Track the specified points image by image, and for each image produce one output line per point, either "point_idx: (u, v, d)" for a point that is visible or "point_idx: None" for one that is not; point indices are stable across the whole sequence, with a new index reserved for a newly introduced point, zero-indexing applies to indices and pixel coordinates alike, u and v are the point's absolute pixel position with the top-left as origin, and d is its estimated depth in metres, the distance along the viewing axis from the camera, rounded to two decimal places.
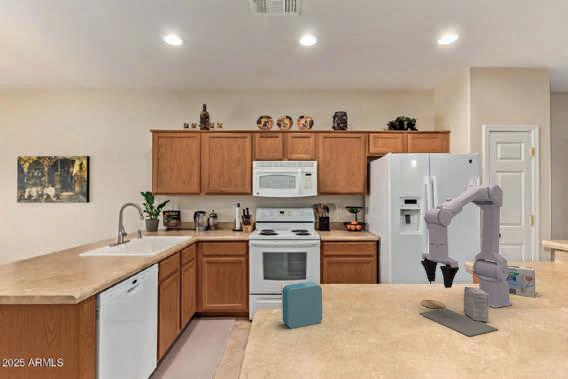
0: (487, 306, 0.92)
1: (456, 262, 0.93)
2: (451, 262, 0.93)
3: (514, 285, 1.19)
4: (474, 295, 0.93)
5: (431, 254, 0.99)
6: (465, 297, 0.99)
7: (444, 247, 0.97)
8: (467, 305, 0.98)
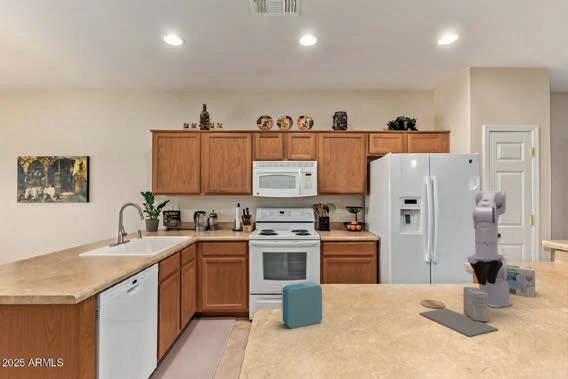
0: (487, 306, 0.92)
1: (471, 258, 0.96)
2: None
3: (514, 285, 1.19)
4: (473, 295, 0.93)
5: None
6: (465, 297, 0.99)
7: (479, 244, 0.98)
8: (466, 305, 0.98)
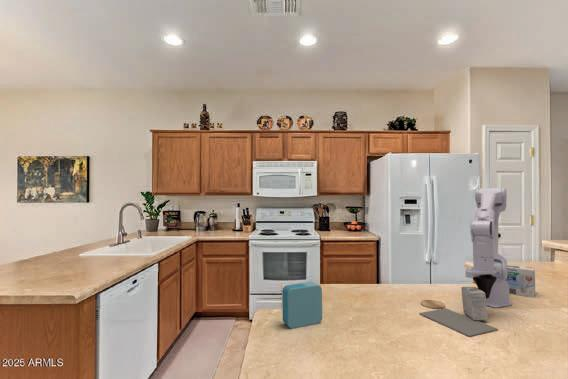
0: (485, 304, 0.93)
1: (469, 273, 0.96)
2: None
3: (514, 285, 1.19)
4: (471, 295, 0.94)
5: None
6: (463, 297, 1.00)
7: (477, 258, 0.98)
8: (465, 305, 0.98)
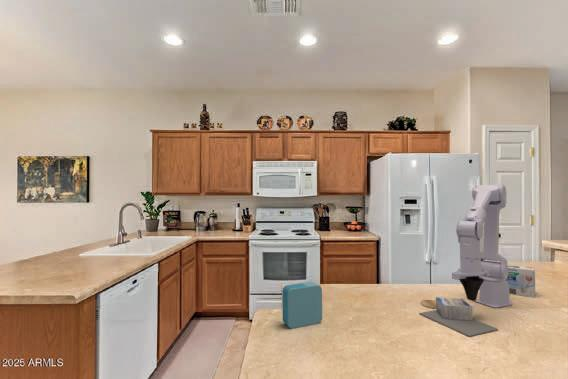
0: (455, 306, 0.94)
1: (455, 274, 0.93)
2: None
3: (514, 285, 1.19)
4: (445, 317, 0.95)
5: None
6: None
7: (464, 260, 0.95)
8: None
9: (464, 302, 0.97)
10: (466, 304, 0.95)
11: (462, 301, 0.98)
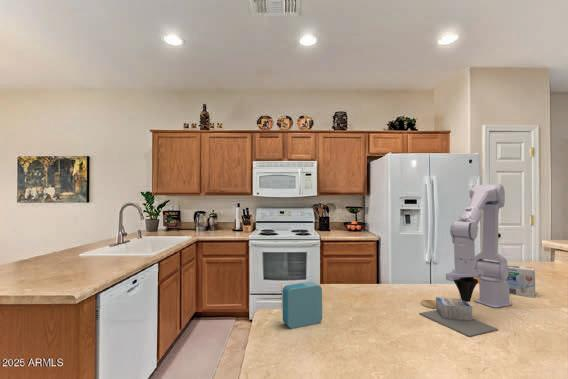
0: (455, 306, 0.94)
1: (449, 275, 0.93)
2: None
3: (514, 285, 1.19)
4: (445, 317, 0.95)
5: None
6: None
7: (458, 261, 0.95)
8: None
9: (464, 302, 0.97)
10: (466, 304, 0.95)
11: (462, 301, 0.98)
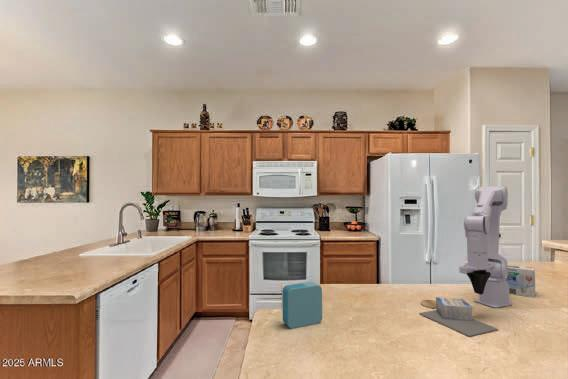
0: (455, 306, 0.94)
1: (463, 268, 0.95)
2: None
3: (514, 285, 1.19)
4: (445, 317, 0.95)
5: None
6: None
7: (471, 254, 0.97)
8: None
9: (464, 302, 0.97)
10: (466, 304, 0.95)
11: (462, 301, 0.98)
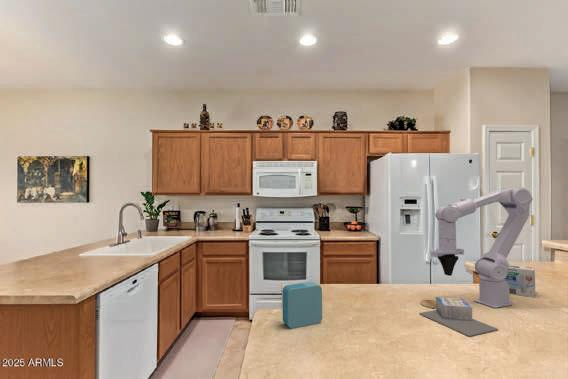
0: (455, 306, 0.94)
1: (433, 252, 1.08)
2: None
3: (514, 285, 1.19)
4: (445, 317, 0.95)
5: None
6: None
7: (441, 240, 1.10)
8: None
9: (464, 302, 0.97)
10: (466, 304, 0.95)
11: (462, 301, 0.98)
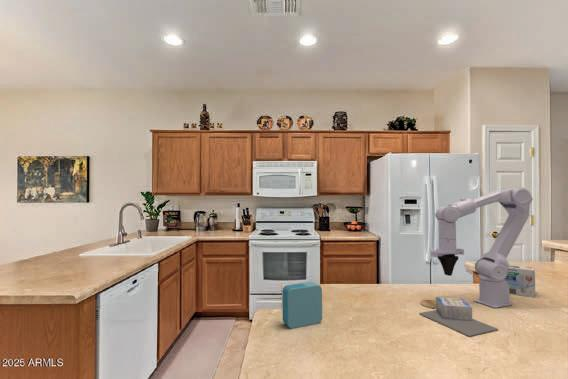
0: (455, 306, 0.94)
1: (433, 252, 1.08)
2: None
3: (514, 285, 1.19)
4: (445, 317, 0.95)
5: None
6: None
7: (441, 240, 1.10)
8: None
9: (464, 302, 0.97)
10: (466, 304, 0.95)
11: (462, 301, 0.98)
